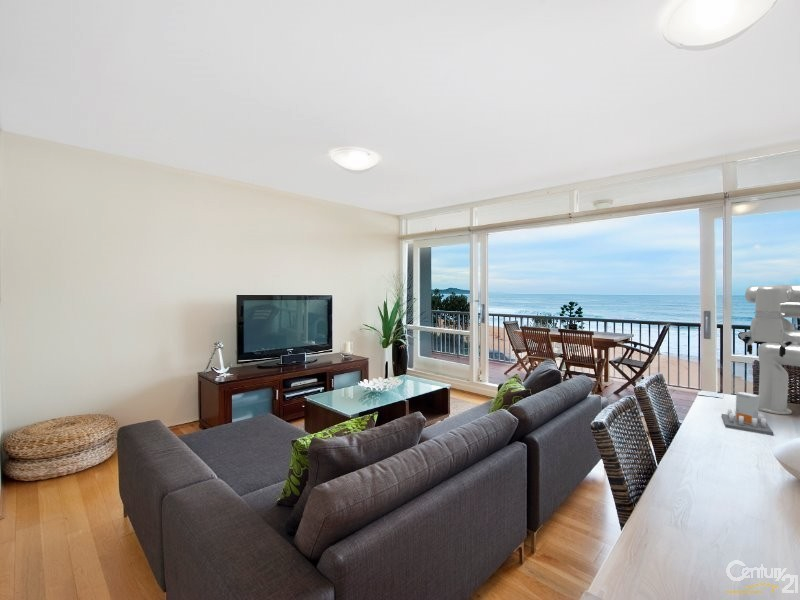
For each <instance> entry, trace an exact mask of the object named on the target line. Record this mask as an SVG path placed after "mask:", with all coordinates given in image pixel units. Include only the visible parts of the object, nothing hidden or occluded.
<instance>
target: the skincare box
mask: <svg viewBox="0 0 800 600" xmlns="http://www.w3.org/2000/svg"><path fill="white" fill-rule="evenodd" d="M735 395H736V399H735V414H734V416H735V420H736V421H739V416H743V417H744V421H743V423H747V424H750V425H752V418H757V424H758V414H759V410H758V409H759V394H754V393H750V392H744V391H739V392H737V393H736V394H735Z"/></svg>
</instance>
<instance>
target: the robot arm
mask: <svg viewBox="0 0 800 600" xmlns="http://www.w3.org/2000/svg"><path fill="white" fill-rule="evenodd" d="M744 296H745V300H746V301H747V302H748V303H750V304H751V303H753V304H755V311H754V312H755V313H754V315H755V316H754V317H752V319H751V323H750V329H749V330H748V331H746V332H742V333H739V335H738V336H739V337H740V339H741V341H742V342H744V343H745V344H746V352H747V353H748V354H749V355H752V354H753V345H752V344H754V343H755V342H761V344H759V345H758V348H757V356H758V360H759V361H758V362H759V376H758V377H759V380H758V395H759V409H758V411H761V412H765V413H771V414H776V415H777V414H778V415H791V414H792V413H793V412H792V410H791V409H789V408H788V396H789V395H788V393H789V390H788V389H789V373H788V372H787V370H786V369H785V368H784V367H783V365H785V366H790V367H791V366H792V367H800V329H799V330H798V329H796V327H795V326H794V324H793V323H792V321H790V320H788V318H790V319H791V318H792V319H800V284H771V285H758V286H757V285H755V286H754V285H753V286H752V285H751V286H749V287H747V288H746V290H745V293H744ZM746 336H749V340H748V339H747V338H746Z"/></svg>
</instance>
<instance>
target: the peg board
mask: <svg viewBox="0 0 800 600" xmlns="http://www.w3.org/2000/svg"><path fill="white" fill-rule="evenodd" d="M721 418H722V421H723V423H724V426H725V428H728V429H732V430H733V429H734V430H739V431H746V432H751V433H756V434H762V435H768V436H774V431H773V430H772V428H771V427H770V425H769V424H768V423H767V419H766V418H764V414H761V413H758V424H757V418H752V425H750V424H747V423H743V421H744V417H743V416H739V421H736V420H735V414H734V413H733V409H727V414H725V413H721Z"/></svg>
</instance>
